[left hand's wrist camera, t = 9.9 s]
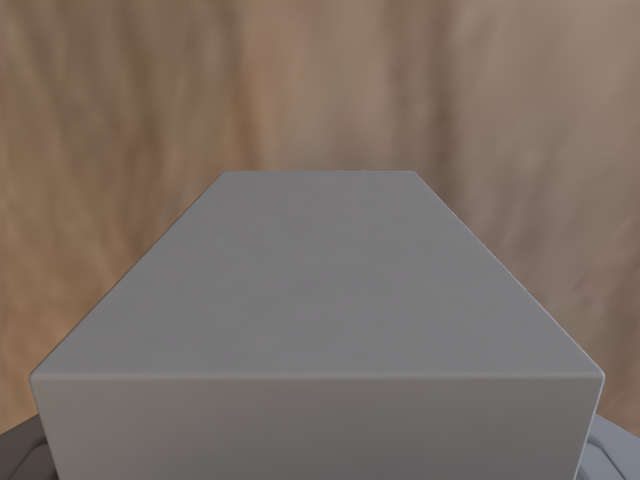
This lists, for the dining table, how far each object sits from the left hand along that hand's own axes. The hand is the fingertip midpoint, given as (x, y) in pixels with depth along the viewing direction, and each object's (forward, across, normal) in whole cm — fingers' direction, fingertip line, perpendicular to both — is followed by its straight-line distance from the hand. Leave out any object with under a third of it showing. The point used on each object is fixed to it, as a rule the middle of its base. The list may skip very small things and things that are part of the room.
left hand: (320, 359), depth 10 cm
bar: (+4, 0, -8) cm, 9 cm away
